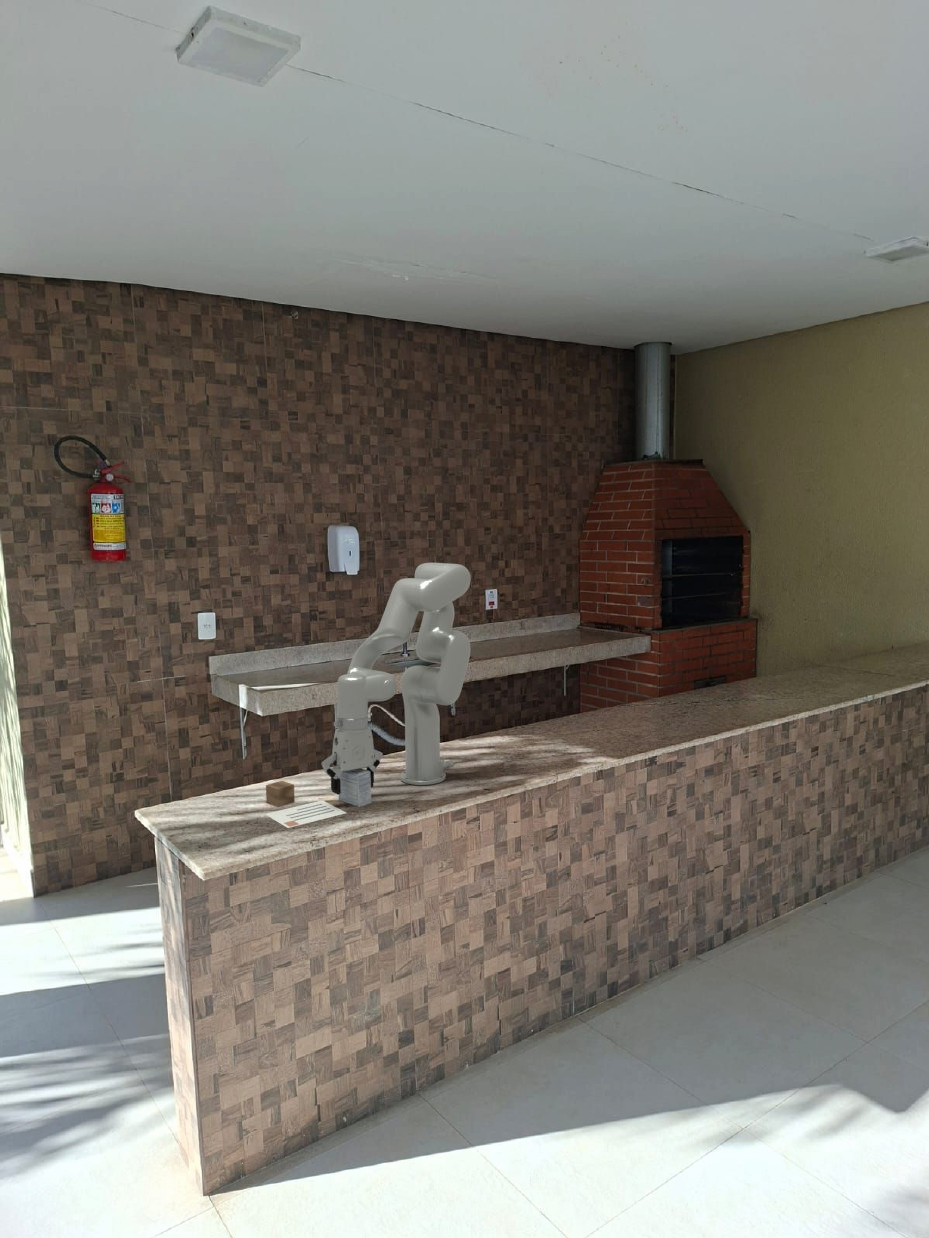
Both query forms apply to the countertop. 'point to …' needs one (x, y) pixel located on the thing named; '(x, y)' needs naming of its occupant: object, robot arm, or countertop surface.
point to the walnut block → (280, 793)
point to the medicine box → (355, 787)
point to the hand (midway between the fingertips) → (352, 789)
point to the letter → (305, 813)
